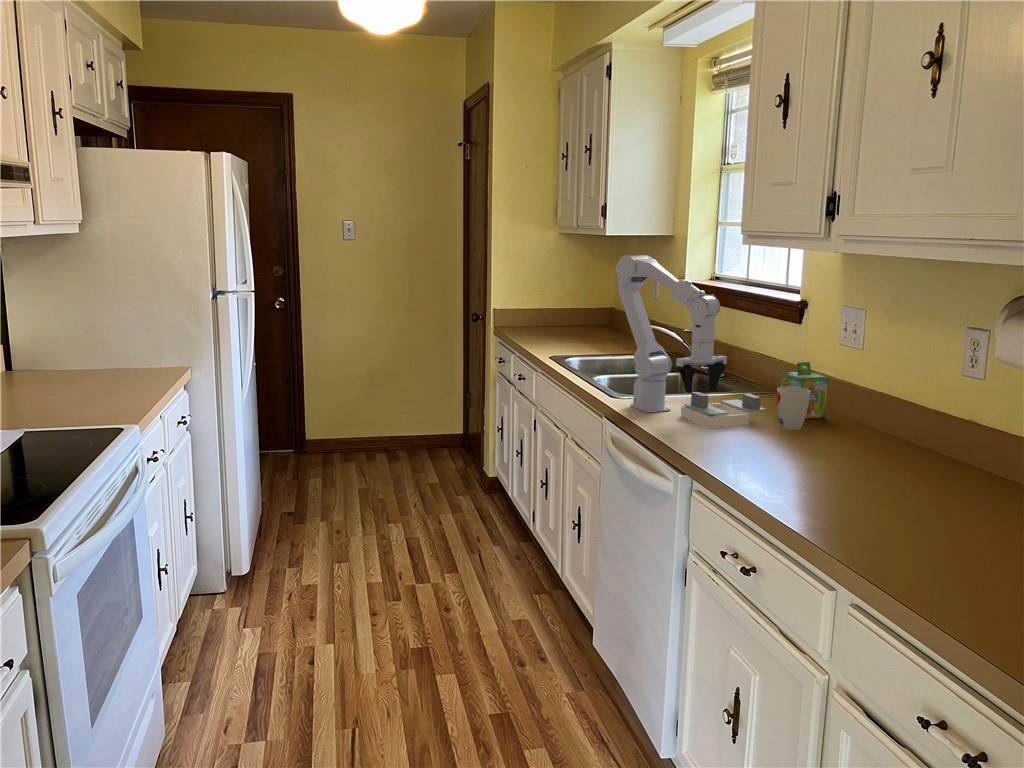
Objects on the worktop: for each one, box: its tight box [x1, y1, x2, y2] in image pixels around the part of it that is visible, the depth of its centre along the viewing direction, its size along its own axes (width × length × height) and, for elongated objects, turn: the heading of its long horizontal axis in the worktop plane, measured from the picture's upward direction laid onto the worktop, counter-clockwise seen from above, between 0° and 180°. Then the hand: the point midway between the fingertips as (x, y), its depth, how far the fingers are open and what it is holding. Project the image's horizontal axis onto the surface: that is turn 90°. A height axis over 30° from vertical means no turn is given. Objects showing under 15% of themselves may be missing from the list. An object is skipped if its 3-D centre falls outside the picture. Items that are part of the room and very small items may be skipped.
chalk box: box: [780, 361, 830, 420], centre depth 222 cm, size 9×9×15 cm
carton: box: [680, 402, 751, 429], centre depth 216 cm, size 14×12×3 cm
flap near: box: [683, 391, 728, 415], centre depth 214 cm, size 12×6×4 cm, turn 21°
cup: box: [776, 386, 810, 431], centre depth 209 cm, size 8×8×10 cm
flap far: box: [720, 393, 767, 413], centre depth 218 cm, size 12×6×4 cm, turn 21°
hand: (700, 391), depth 217 cm, fingers open, 7 cm apart
